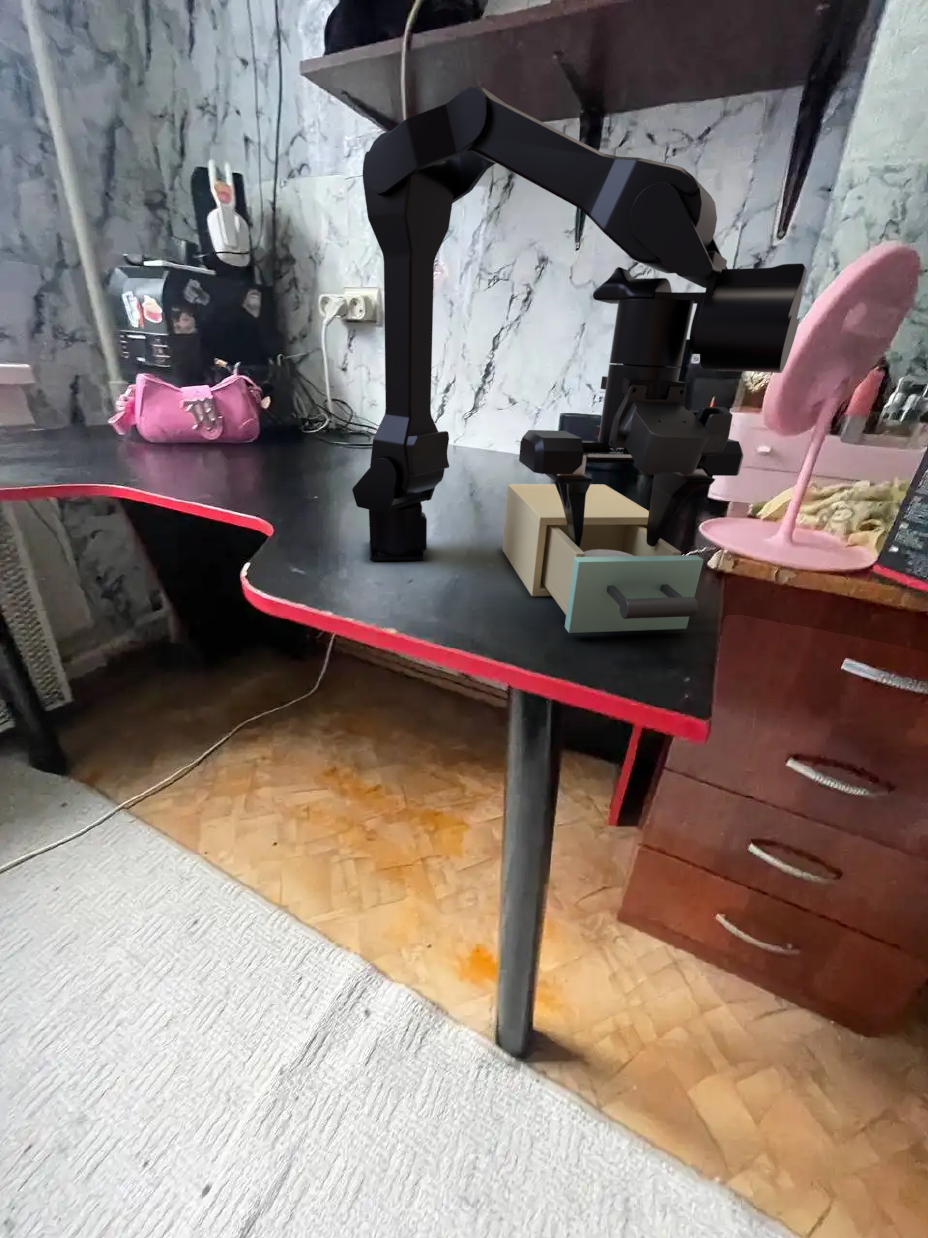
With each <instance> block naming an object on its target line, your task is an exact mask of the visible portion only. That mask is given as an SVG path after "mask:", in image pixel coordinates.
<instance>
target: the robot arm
mask: <svg viewBox="0 0 928 1238" xmlns="http://www.w3.org/2000/svg"><path fill="white" fill-rule="evenodd" d="M495 165H499V166H501V167H503V168H505V169H507V170H509V171H510V172H512V173H513V174H515V175H518V176H520V177H522V178H523V179H525V180H527V181H529V182H530V183H532V184H534V185H536V186H538V187H540V188H541V189H543V190H545V191H547V192H549V193H550V194H552V195H554V196H556V197H558V198H559V199H561V200H563V201H565V202H567V203H569V204H570V205H572V206H574V207H576V208H577V209H579V210H580V211H582V213H584V214H585V215H586V216H587V217H588V218H589V219H590V220H591V221H592V222H593V223H594V224H595V225H596V226H597V228H598V229H600V231H601V232H602V233H603V234H604V235H605V236H607V237H608V238H609V239H610V240H611V241H612V242H613V243H614V244H615V245H616V246H618V247H619V249H621V250H622V251H623V252H624V253H625V254H627V256H628V257H630V258H631V259H632V260H634V261H636V262H638V263H640V264H642V265H645V266H647V267H649V268H651V269H653V270H655V271H658V272H661V273H664V274H676V275H677V276H678V277H680V278H682V279H684V280H686V281H689V282H691V283H693V284H695V285H697V286H698V287H701V288H703V289H705V291H702V292H701V291H699V292H698V291H697V292H695V291H693V292H692V291H691V292H690V291H689V292H678V291H677V292H676V291H675V292H673V291H672V286H671V285H672V284H671V282H670V281H669V279H668V278H667V277H648V278H646V277H645V278H643V277H642V278H641V277H640V278H633V276H632V275H631V272H630V271H629V270H628V269H626V268H623V267H621V266H618V267H616V268H615V269H614V271H613V272H612V274H611V275H610V276H609V278H607V280H605V281H604V282H603V283H601V284H600V286H598V287H597V288H596V289H595V290H594V291H593V293H592V298H593V300H594V301H598V302H602V303H607V304H610V305H611V304H613V305H614V304H615V305H616V304H617V308H616V316H615V322H614V329H613V335H612V343H611V350H610V357H609V363H608V364H609V365H608V369H607V370H608V371H607V376H605V375H604V376H603V375H602V376H601V382H600V389H601V390H604V397H603V405H602V410H601V411H602V412H601V420H600V425H594V431H593V438H595V439H597V440H582V439H583V438H582V437H580V436H577V435H575V434H573V433H571V432H568V431H567V430H552V429H551V430H550V429H549V430H547V429H528V430H527V431H526V433H524V435H523V436H522V438H521V440H520V443H519V444H520V445H519V446H520V447H519V456H518V457H519V458H518V461H519V462H520V463H521V464H522V465H524V466H525V467H526V468H527V469H528V470H530V471H531V472H532V473H534V474H541V475H545V476H546V477H548V478H550V479H551V480H552V481H553V484H555V486H556V488H557V491H558V493H559V496H560V499H561V502H562V506H563V509H564V513H565V517H566V521H567V525H568V529H569V533H570V537H571V540H572V541H573V542H574V543H575V544H576V545H577V546H578V547H580V544H581V539H582V535H583V524H584V512H585V499H586V493H587V490H588V488H589V486H590V484H592V482H593V478H592V477H590V476H589V475H587V474H586V467H587V464H634V467H635V468H636V469H637V470H638V471H639V472H641V473H643V474H647V475H653V482H652V489H651V495H650V503H649V509H648V511H649V516H648V523H647V539H646V542H647V544H648V545H649V546H651V547H654V546H655V545H656V544H657V542H658V541H659V539H660V538H661V537H662V535H663V534H664V533H665V531H666V529H667V527H668V526H669V525H670V523H671V521H672V520H673V518H674V516H675V515H676V513H677V512H678V510H679V509H680V508H681V506H682V505H683V504H684V503H685V501H686V500H687V498H688V497H689V496H690V495H691V494H693V493H695V492H696V491H697V490H698V489H700V488H702V487H704V486H710V485H713V483H714V482H715V481H716V478H714V477H715V476H716V477H717V476H719V477H728V476H729V477H737V476H739V475H740V471H741V467H742V463H743V460H744V452H743V449H742V446H741V444H740V441H739V440H735V439H732V438H729V437H730V433H731V426H732V422H733V415H734V414H732V413H731V411H729V409H727V407H725V406H703V407H702V408H700V410H694V409H693V410H690V409H689V410H688V409H687V408H686V404H685V401H686V400H685V399H686V395H687V389H686V385H687V381H686V382H685V381H679V380H680V379H679V378H680V373H681V368H682V365H683V364H682V363H683V359H684V354H685V348H686V343H687V339H688V333H689V340H688V350H689V353H690V354H691V355H699V365H700V367H701V369H703V370H718V371H719V370H720V371H738V372H752V373H753V372H755V373H772V374H773V373H775V374H782V373H783V372H784V369H785V367H786V365H787V362H788V360H789V357H790V354H791V351H792V347H793V345H794V341H795V338H796V335H797V331H798V328H799V324H800V320H799V319H798V315H799V311H800V307H801V301H802V296H803V288H804V283H805V279H806V276H807V272H808V269H807V267H806V266H805V264H804V263H803V262H802V263H801V262H800V263H799V262H798V263H783V264H779V265H775V266H772V267H770V266H769V267H747V268H744V267H743V268H728V266H727V264H728V260H727V259H726V258H725V257H724V256H723V255H722V254H721V251H720V249H719V246H718V244H717V242H716V240H715V239H714V236H715V234H716V229H717V223H718V215H717V207H716V202H715V200H714V199H713V197H712V195H711V194H710V193H709V192H708V191H707V189H705V187H704V186H703V185H702V184H701V183H700V182H699V181H698V180H697V179H696V178H695V176H694V175H693V174H691V173H690V172H689V171H688V170H686V169H685V168H684V167H682V166H679V165H675V164H670V163H666V162H662V161H657V160H652V159H647V158H643V157H635V156H617V155H613V154H608V153H604V152H601V151H600V150H598V149H596V148H594V147H592V146H590V145H588V144H586V143H584V142H582V141H580V140H578V139H576V138H574V137H572V136H571V135H568V134H567V133H564V132H563V131H560V130H559V129H556V128H554V127H552V126H550V125H549V124H547V123H544V122H543V121H541V120H540V119H536V118H535V117H533V116H531V115H530V114H527V113H525V112H524V111H521V110H520V109H518V108H515V107H513V106H511V105H509V104H507V103H505V101H502V100H501V99H500V98H499V97H497V96H496V95H495V94H493V93H492V92H490V91H489V90H487V89H486V88H485V87H484V86H479V85H474V86H468V87H466V88H463V89H462V90H461V91H460V92H459V93H457V94H456V95H454V96H453V97H452V98H451V99H450V100H448V101H447V102H446V103H444V104H441V105H439V106H436V107H433V108H431V109H428V110H426V111H423V112H421V113H417V114H415V115H412V116H410V117H407V118H406V119H404V120H402V121H401V122H400V123H399V124H398V125H396V126H395V127H394V128H393V129H392V130H387V131H384V132H383V133H380V134H379V135H378V136H377V138H375V140H373V143H372V144H371V146H370V148H369V149H368V151H366V152H365V154H364V158H363V162H362V182H363V183H362V184H363V190H364V199H365V207H366V213H367V219H368V222H369V225H370V228H371V229H372V232H373V234H374V237H375V238H376V241H377V243H378V246H379V249H380V250H381V253H382V258H383V306H384V307H383V309H384V310H383V311H384V314H383V315H384V316H383V318H384V319H383V320H384V385H385V387H384V389H385V390H384V392H385V394H384V395H385V401H384V402H385V409H384V411H385V412H384V415H383V417H382V419H381V421H380V424H379V426H378V428H377V430H376V432H375V434H374V436H373V439H372V443H371V455H370V462H369V463H370V464H369V468H368V469H367V470H366V472H365V473H364V474H363V475H362V476H361V478H360V479H359V480H358V481H357V482H356V483H355V485H353V487H352V489H351V492H352V494H353V498H354V502H355V505H356V507H357V508H360V509H364V510H368V519H369V520H368V524H369V527H368V528H369V543H368V544H369V545H368V546H369V547H368V548H369V549H368V550H369V551H368V553H369V554H368V555H369V556H368V557H369V559H368V560H369V561H373V562H374V561H422V560H424V559H425V555H424V552H425V551H426V550H427V547H428V546H427V545H428V544H427V541H428V540H427V538H428V537H427V536H428V535H427V533H428V519H427V515H426V513H425V512H424V511H423V505H422V502H428V501H430V500H432V498H433V496H434V493H435V489H436V487H437V485H439V484H440V483H441V482H442V480H443V479H444V475H445V469H449V468H450V463H449V460H448V449H449V443H450V434H449V432H448V431H447V430H443V431H439V430H438V427H437V426H436V423H435V421H434V419H433V416H432V409H431V408H432V367H433V326H434V325H433V321H434V319H433V318H434V283H435V282H434V281H435V279H434V276H435V263H436V261H435V260H436V258H437V256H438V253H439V251H440V249H441V246H442V244H443V242H444V240H445V238H446V236H447V234H448V231H449V228H450V223H451V215H452V210H453V209H452V208H453V204H454V203H456V202H458V201H459V200H460V199H462V198H463V197H465V196H466V195H468V194H469V193H471V192H472V191H473V190H474V188H475V187H476V185H477V184H478V183H479V181H480V180H481V179H482V177H483V176H484V175H485V173H486V172H487V170H489V169H490V168H491V167H493V166H495ZM695 304H696V307H695V310H694V313H693V308H694V305H695ZM692 313H693V317H692ZM691 318H692V322H691ZM690 323H691V326H690ZM689 328H690V331H689ZM712 476H713V477H712Z"/></svg>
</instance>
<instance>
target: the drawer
mask: <svg viewBox="0 0 928 1238" xmlns="http://www.w3.org/2000/svg"><path fill="white" fill-rule="evenodd" d="M646 539H647V529H646V528H645V527H643V526H642V525H583V535H582V539H581V544H580V547H578V546H577V545H576V544H575V543H574V542H573V541H572V540H571V537H570V533H569V529H568V525H547V528H546V537H545V546H544V555H543V564H542V573H541V581H542V582H543V584H544V585H545V587H546V588H547V589H548V591H549V592H550V594H551V595H552V596H551V597H552V598H553V599H554V601H555V602H556V603H557V605H558V606H559V607H560V609H561V610H562V611H563V614H564V615H565V623H564V628H565V630H566V632H567V633H568V634H579V633H583V634H584V633H605V632H606V633H607V632H608V633H609V632H610V633H611V632H635V631H663V630H686V629H687V628H688V624H689V622H690V621H689V619H690V618H691V617H695V616H696V615H697V614H698V611H699V604H698V603H699V602H698V600H697V598H695V596H696V593H697V588H698V584H699V580H700V577H701V571H702V568H703V564H704V558H702V557H700V556H698V555H697V554H689V555H685V554H684V555H683V554H682V551H680V550H679V549H677V548H676V547H674V546H673V545H671V544H670V543H668V542H667V541H665V540H664V539H662V538H661V537H660V539H659V541H658V542H657V544H656V545H655V546H654V547H651V546H649V545H648V544H647V542H646ZM596 549H606V550H615V551H620V552H625V553H628V554H631V555H633V556H609V557H585V553H584V552H585V551H588V550H596Z"/></svg>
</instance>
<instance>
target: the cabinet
mask: <svg viewBox="0 0 928 1238" xmlns="http://www.w3.org/2000/svg"><path fill="white" fill-rule="evenodd" d="M648 516H649V509H648V510H647V509H646V508H644V507H642V505H640V504H638V503H636V502H634V501H633V500H631V499H629V498H628V497H627V496H624V495H623V494H621V493H619V492H618V491H616V490H614V489H613V488H612V487H610V486H609V485H606V484H603V483H601V484H599V483H597V484H595V483H594V484H593V483H591V484H590V486H589V488H588V490H587V493H586V499H585V512H584V524H583V525H642V526H643V527H645V528H646V529H647V523H648ZM547 525H567V521H566V517H565V513H564V509H563V506H562V502H561V499H560V496H559V493H558V491H557V488H556V486H555V483H507V485H506V499H505V511H504V525H503V526H504V527H503V538H502V552H503V553H504V555H505V556H506V557H505V558H507V560H508V562H509V563H510V564H511V566H512V568H513V569H514V571H515V572H516V574H517V576H518V577H519V579H520V580H521V582H522V583H523V585H524V587H525V588H526V589H527V591H528V593H529V594H530V596H531V597H553V596H552V595H551V594H550V592H549V591H548V589H547V588H546V587H545V585H544V584H543V582H542V581H541V573H542V564H543V555H544V546H545V537H546V528H547Z"/></svg>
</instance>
